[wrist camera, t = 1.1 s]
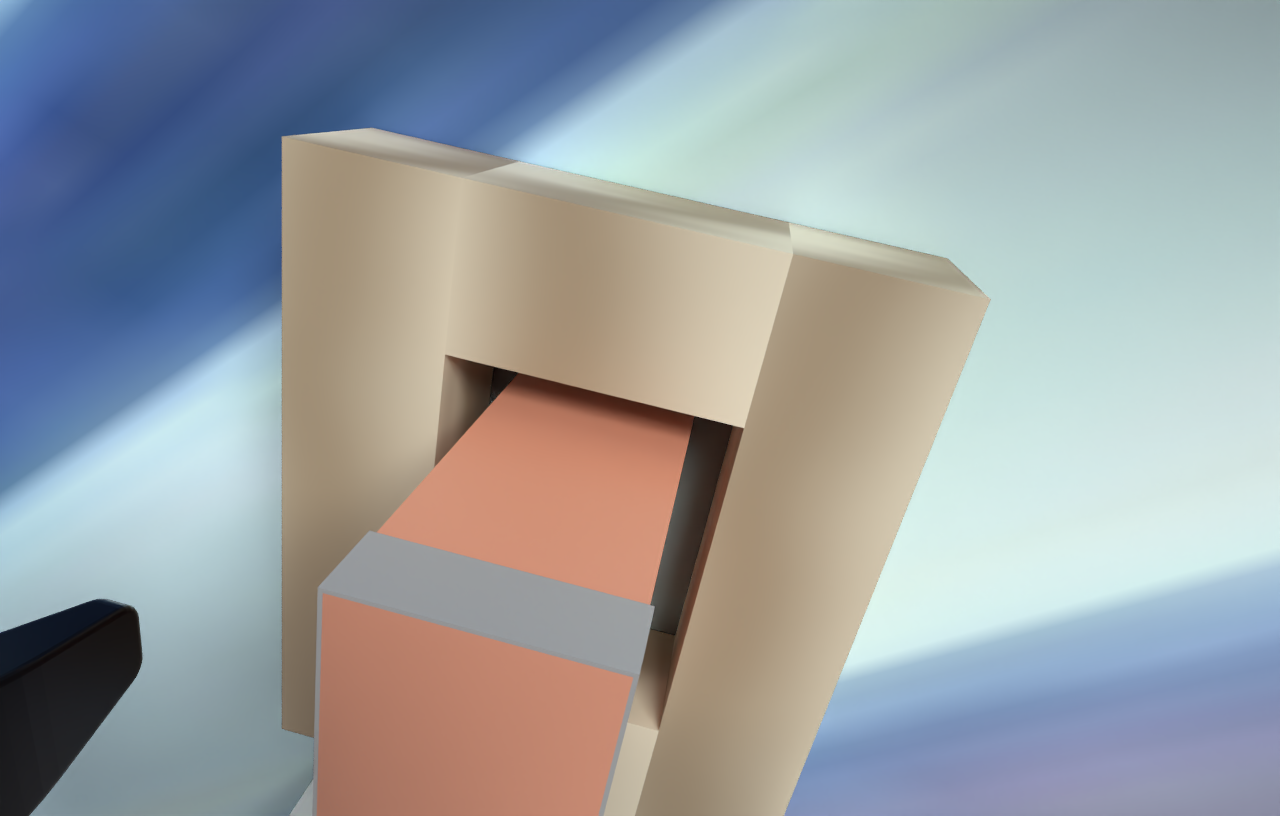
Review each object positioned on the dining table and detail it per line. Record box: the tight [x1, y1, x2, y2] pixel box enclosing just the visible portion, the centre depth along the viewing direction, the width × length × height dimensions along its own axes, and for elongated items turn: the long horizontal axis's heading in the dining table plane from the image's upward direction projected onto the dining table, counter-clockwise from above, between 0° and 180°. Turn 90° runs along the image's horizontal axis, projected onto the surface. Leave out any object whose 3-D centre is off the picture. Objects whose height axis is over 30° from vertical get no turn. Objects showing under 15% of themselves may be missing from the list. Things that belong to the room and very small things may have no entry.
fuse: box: [312, 373, 694, 816], centre depth 11 cm, size 3×5×7 cm
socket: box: [282, 128, 991, 816], centre depth 13 cm, size 9×11×2 cm
